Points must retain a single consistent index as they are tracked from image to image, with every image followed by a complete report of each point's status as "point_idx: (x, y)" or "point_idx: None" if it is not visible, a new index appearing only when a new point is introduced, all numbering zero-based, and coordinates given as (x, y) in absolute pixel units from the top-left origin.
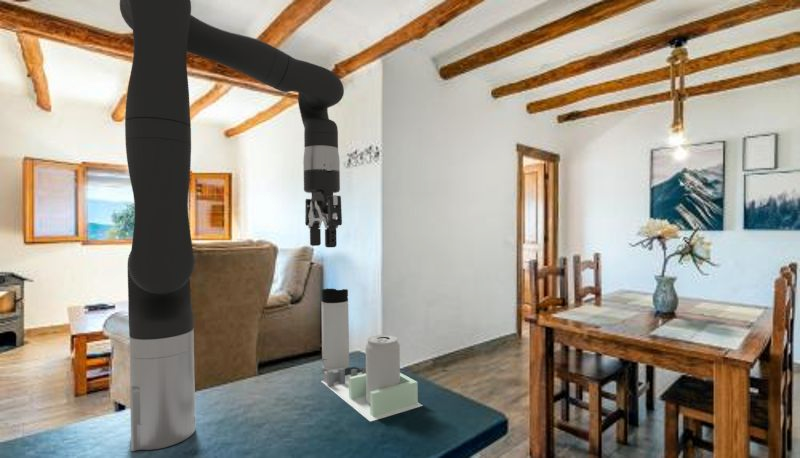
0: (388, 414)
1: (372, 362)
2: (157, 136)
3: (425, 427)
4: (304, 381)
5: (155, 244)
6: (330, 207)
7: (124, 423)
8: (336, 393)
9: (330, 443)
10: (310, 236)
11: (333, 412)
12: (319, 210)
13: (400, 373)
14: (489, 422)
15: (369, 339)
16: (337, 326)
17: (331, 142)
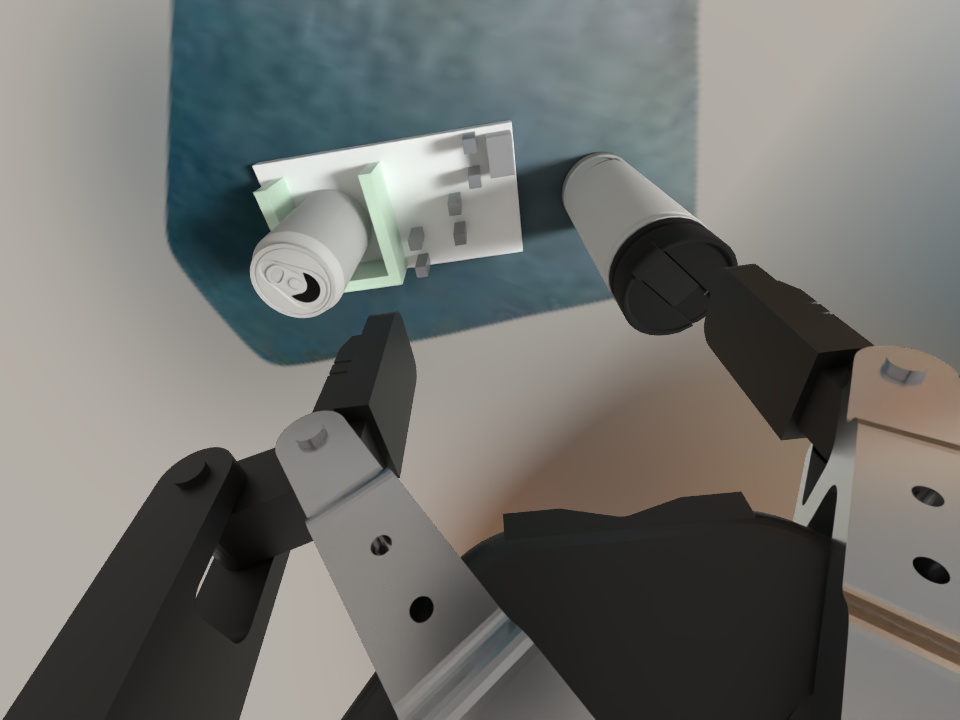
0: None
1: (276, 226)
2: None
3: (248, 256)
4: (572, 82)
5: None
6: (15, 706)
7: None
8: (414, 139)
9: (204, 58)
10: (784, 301)
11: (350, 108)
12: (390, 610)
13: (359, 288)
14: (251, 345)
15: (298, 251)
16: (589, 230)
17: None
